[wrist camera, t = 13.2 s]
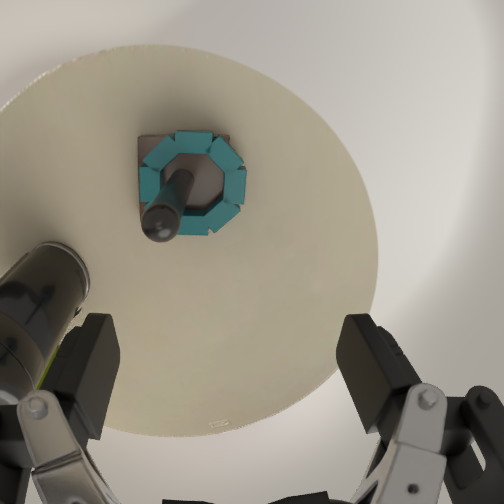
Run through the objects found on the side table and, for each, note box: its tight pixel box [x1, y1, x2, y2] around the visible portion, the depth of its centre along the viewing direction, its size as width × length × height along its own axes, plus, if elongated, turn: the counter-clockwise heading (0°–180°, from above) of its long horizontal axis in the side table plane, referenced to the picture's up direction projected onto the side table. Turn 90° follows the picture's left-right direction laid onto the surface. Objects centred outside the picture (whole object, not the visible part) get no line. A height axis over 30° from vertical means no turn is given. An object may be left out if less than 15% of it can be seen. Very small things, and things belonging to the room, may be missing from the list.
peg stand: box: [138, 135, 230, 242], centre depth 25 cm, size 9×9×15 cm
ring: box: [139, 130, 247, 235], centre depth 30 cm, size 10×10×2 cm
